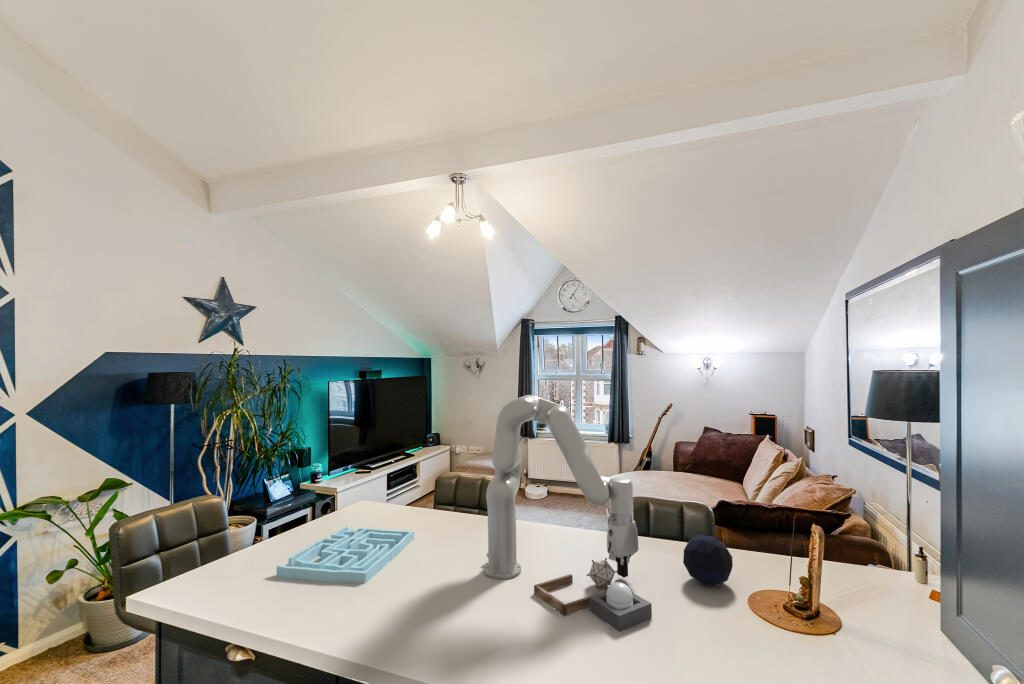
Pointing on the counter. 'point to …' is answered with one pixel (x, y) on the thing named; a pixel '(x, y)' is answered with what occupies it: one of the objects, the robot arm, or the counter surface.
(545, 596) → the walnut bay
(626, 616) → the dome base
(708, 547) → the decorative orb
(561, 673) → the counter surface
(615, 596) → the dome
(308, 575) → the maze
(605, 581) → the game die
